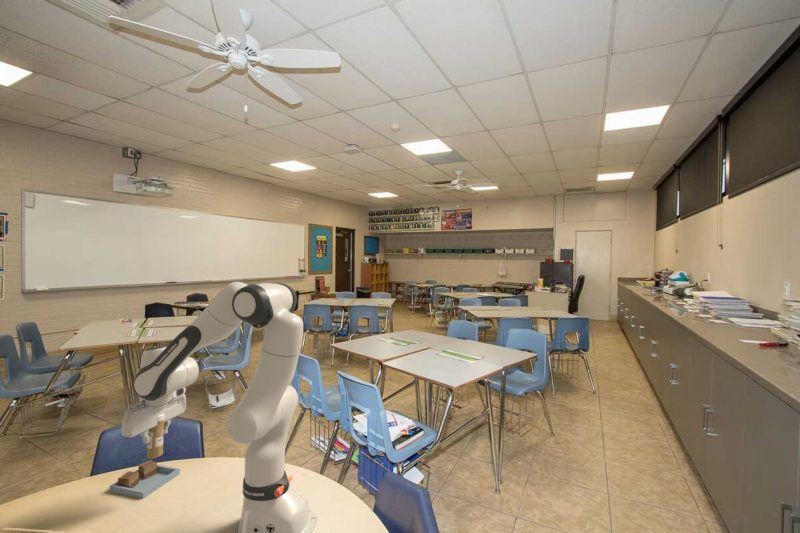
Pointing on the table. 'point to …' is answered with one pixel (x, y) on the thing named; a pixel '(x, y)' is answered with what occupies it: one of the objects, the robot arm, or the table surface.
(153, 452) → the sprinkles bottle
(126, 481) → the walnut block
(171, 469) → the tray
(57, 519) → the table surface
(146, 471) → the walnut block
